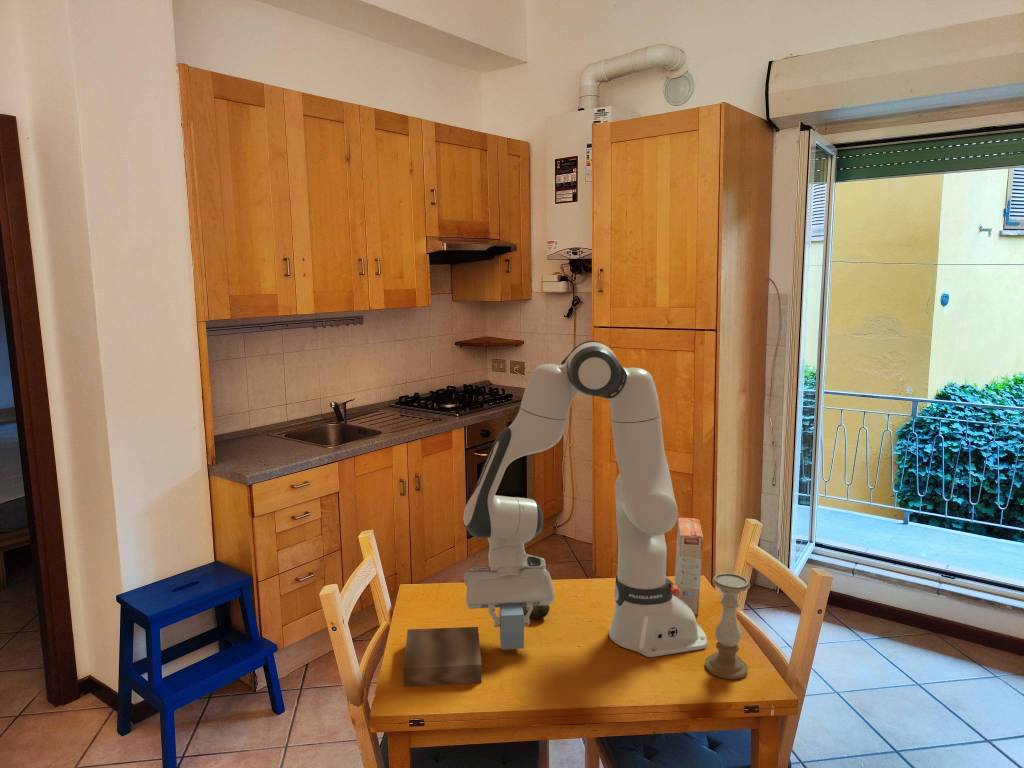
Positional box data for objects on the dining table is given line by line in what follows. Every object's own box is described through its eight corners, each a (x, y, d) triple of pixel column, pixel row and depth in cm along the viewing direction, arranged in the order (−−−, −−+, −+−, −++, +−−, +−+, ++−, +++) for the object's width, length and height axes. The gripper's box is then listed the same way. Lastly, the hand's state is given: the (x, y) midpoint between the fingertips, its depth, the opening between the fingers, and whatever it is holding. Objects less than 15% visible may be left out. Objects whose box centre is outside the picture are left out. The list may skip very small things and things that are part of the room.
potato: (516, 623, 169) (516, 592, 168) (512, 599, 182) (512, 570, 181) (550, 622, 170) (551, 591, 169) (544, 598, 183) (544, 569, 181)
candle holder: (743, 659, 154) (748, 572, 151) (751, 682, 145) (756, 590, 142) (702, 656, 155) (707, 570, 152) (707, 678, 146) (712, 587, 143)
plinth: (477, 643, 160) (477, 626, 159) (481, 682, 144) (481, 664, 144) (407, 645, 158) (407, 629, 158) (403, 686, 143) (403, 668, 142)
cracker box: (699, 616, 173) (703, 536, 170) (675, 614, 175) (678, 534, 172) (696, 592, 187) (700, 517, 184) (673, 590, 188) (677, 516, 185)
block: (521, 637, 159) (521, 604, 158) (524, 648, 154) (523, 614, 153) (499, 638, 159) (499, 605, 157) (501, 649, 154) (501, 615, 153)
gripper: (463, 562, 160) (465, 623, 152) (551, 559, 162) (558, 618, 153) (463, 573, 165) (465, 632, 157) (548, 569, 167) (554, 627, 159)
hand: (511, 625), depth 155 cm, fingers closed on block, 5 cm apart
